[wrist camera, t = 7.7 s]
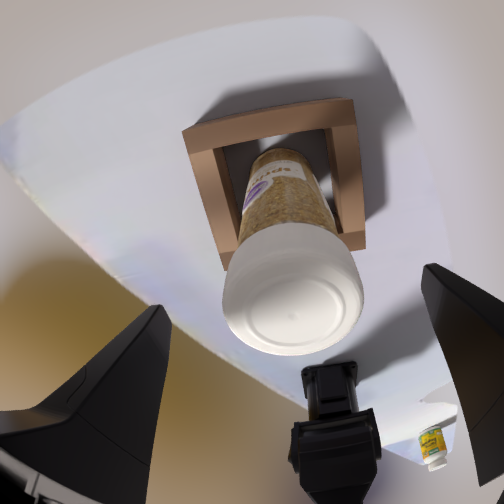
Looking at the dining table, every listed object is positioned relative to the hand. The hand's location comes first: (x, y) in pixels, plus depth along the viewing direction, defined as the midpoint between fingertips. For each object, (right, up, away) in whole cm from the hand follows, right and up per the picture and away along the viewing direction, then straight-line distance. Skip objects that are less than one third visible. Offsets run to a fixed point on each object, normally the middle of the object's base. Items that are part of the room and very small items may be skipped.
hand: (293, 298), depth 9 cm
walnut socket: (+1, +7, +11) cm, 13 cm away
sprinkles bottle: (+1, +7, +11) cm, 13 cm away
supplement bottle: (+36, -36, +36) cm, 62 cm away
